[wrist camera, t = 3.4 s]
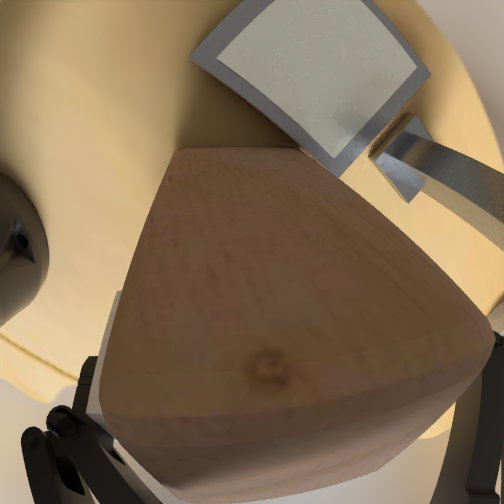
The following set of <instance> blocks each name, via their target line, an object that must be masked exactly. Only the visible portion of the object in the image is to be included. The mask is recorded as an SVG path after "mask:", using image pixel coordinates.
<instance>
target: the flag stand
mask: <svg viewBox="0 0 504 504" xmlns="http://www.w3.org/2000/svg"><path fill="white" fill-rule="evenodd" d="M487 319H488V320H489V322H490V324H491V327H492V330H493V331H496V332H498V333H499V334H500V335H501V336H504V301H503V302H502V303H500V304H499V305H498V306H497V307H496V308H495V309H494V310H493V311H492V312H491V314H490V315H489V316H488V317H487Z"/></svg>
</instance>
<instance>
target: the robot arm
mask: <svg viewBox="0 0 504 504" xmlns="http://www.w3.org/2000/svg"><path fill="white" fill-rule="evenodd" d="M48 265H49V254H48V246H47V241H46V237H45V233H44V230H43V227H42V224H41V222H40V220H39V217H38V215H37V213H36V211H35V209H34V208H33V206H32V204H31V203H30V201H29V200H28V198H27V197H26V196H25V194H24V193H23V192H22V191H21V189H20V188H19V187H18V186H17V185H16V184H15V183H14V182H13V181H11V180H10V179H9V178H8V177H6V176H5V175H3V174H1V173H0V327H1V326H2V325H4V324H5V323H6V322H7V321H9V320H10V319H11V318H12V317H14V316H15V315H16V314H17V313H19V312H20V311H21V310H23V309H24V308H25V307H26V306H28V305H29V304H30V303H31V302H32V301H33V300H34V298H35V297H36V295H37V293H38V292H39V290H40V288H41V287H42V285H43V283H44V281H45V279H46V276H47V272H48ZM121 293H122V291H117V293H116V296H115V299H114V302H113V305H112V309H111V312H110V315H109V319H108V322H107V325H106V329H105V333H104V336H103V340H102V344H101V347H100V351H99V355H98V356H89V357H88V358H87V360H86V361H85V363H84V364H83V366H82V369H81V373H80V378H79V380H78V386H77V389H76V393H75V397H74V402H73V407H72V409H71V408H70V407H67V406H65V405H59V406H57V407H54V408H53V409H52V410H51V411H50V412H49V414H48V416H47V420H46V425H47V429H48V430H49V431H45V432H43V431H42V430H40V429H39V428H37V427H29V428H27V429H26V430H25V431H24V433H23V434H22V437H21V446H22V453H23V458H24V463H25V468H26V473H27V477H28V481H29V485H30V489H31V492H32V496H33V499H34V502H35V504H95V502H94V500H93V498H92V495H91V493H90V490H91V492H92V493H93V494H94V496H95V497H96V499H97V500H98V502H99V503H100V504H163V503H162V502H161V501H160V500H159V499H158V498H157V497H156V496H155V495H154V494H153V493H152V492H151V491H150V490H149V488H148V487H147V486H146V485H145V484H144V483H143V482H142V481H141V479H140V478H139V477H138V476H137V475H136V474H135V472H134V471H133V470H132V469H131V468H130V466H129V465H128V464H127V463H126V461H125V460H124V459H123V457H122V456H121V455H120V454H119V452H118V451H117V450H116V448H114V447H113V442H114V439H115V438H114V437H113V436H112V435H111V433H110V432H109V431H108V430H107V427H106V423H105V420H104V417H103V413H102V410H101V406H100V403H99V381H100V376H101V371H102V366H103V362H104V357H105V353H106V349H107V345H108V340H109V336H110V333H111V329H112V325H113V321H114V317H115V314H116V310H117V307H118V303H119V300H120V296H121ZM493 333H494V335H495V338H496V340H495V344H494V347H493V350H492V352H491V355H490V357H489V359H488V361H487V363H486V365H485V366H484V368H483V370H482V371H481V372H480V374H479V375H478V376H477V377H476V379H475V380H474V381H473V382H472V383H471V385H470V386H469V387H468V388H467V389H466V390H465V391H464V393H463V394H462V395H461V396H460V397H459V398H458V399H457V400H456V405H455V412H454V417H453V423H452V428H451V432H450V437H449V442H448V446H447V450H446V454H445V458H444V461H443V465H442V469H441V472H440V476H439V478H438V482H437V485H436V488H435V491H434V494H433V496H432V499H431V502H430V504H499V503H500V497H499V495H498V494H497V493H495V485H496V481H497V476H498V471H499V466H500V460H501V474H502V475H501V480H502V481H501V504H504V336H501V335H500V334H499V333H498V332H496V331H493ZM115 440H116V439H115ZM116 441H117V440H116ZM117 442H118V441H117ZM118 443H119V442H118ZM88 487H89V488H88ZM89 489H90V490H89Z"/></svg>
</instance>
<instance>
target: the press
mask: <svg viewBox="0 0 504 504" xmlns="http://www.w3.org/2000/svg"><path fill="white" fill-rule="evenodd" d="M188 58H189V60H190V61H191V62H193V63H194V64H196V65H197V66H199V67H200V68H201V69H203V70H204V71H206V72H207V73H209V74H210V75H211V76H213V77H214V78H216V79H217V80H218V81H220V82H221V83H222V84H224V85H225V86H227V87H228V88H229V89H231V90H232V91H233V92H235V93H236V94H237V95H239V96H240V97H241V98H242V99H244V100H245V101H246V102H248V103H249V104H250V105H251V106H253V107H254V108H255V109H256V110H258V111H259V112H260V113H261V114H263V115H264V116H265V117H266V118H268V119H269V120H270V121H271V122H272V123H274V124H275V125H276V126H277V127H278V128H279V129H281V130H282V131H283V132H284V133H285V134H286V135H288V136H289V137H290V138H291V139H292V140H293V141H295V142H296V143H297V144H298V145H299V146H300V147H301V148H302V149H303V150H305V151H306V152H307V153H308V154H309V155H310V156H311V157H312V158H313V159H314V160H316V161H317V162H318V163H319V164H320V165H321V166H323V167H324V168H325V169H327V170H328V171H329V172H331V173H332V174H333V175H335V176H336V177H337V178H339V177H340V176H341V175H342V174H343V172H344V171H345V170H346V169H347V168H348V167H349V166H350V165H351V164H352V163H353V161H354V160H355V159H356V158H357V157H358V156H359V155H360V154H361V153H362V152H363V150H364V149H365V148H366V147H367V146H368V145H369V144H370V143H371V142H372V140H373V139H374V138H375V137H376V136H377V135H378V134H379V133H380V132H381V130H382V129H383V128H384V127H385V126H386V125H387V124H388V123H389V121H390V120H391V119H392V118H393V117H394V116H395V115H396V114H397V113H398V111H399V110H400V109H401V108H402V107H403V106H404V105H405V104H406V102H407V101H408V100H409V99H410V98H411V97H412V96H413V94H414V93H415V92H416V91H417V90H418V89H419V88H420V87H421V85H422V84H423V83H424V82H425V81H426V80H427V79H428V77H429V76H430V75H431V74H430V72H429V71H428V69H427V68H426V66H425V65H424V63H423V62H422V60H421V59H420V58H419V56H418V55H417V54H416V52H415V51H414V50H413V48H412V47H411V46H410V44H409V43H408V42H407V40H406V39H405V38H404V37H403V35H402V34H401V33H400V32H399V30H398V29H397V28H396V27H395V26H394V24H393V23H392V22H391V21H390V20H389V19H388V17H387V16H386V15H385V14H384V13H383V12H382V11H381V10H380V9H379V8H378V6H377V5H376V4H375V3H374V2H373V1H372V0H244V1H242V2H241V3H240V4H239V5H238V6H237V7H236V8H235V9H234V10H233V11H232V12H231V13H230V14H229V15H228V16H227V17H226V18H225V19H223V20H222V21H221V22H220V23H219V24H218V26H217V27H216V28H215V29H214V30H213V31H212V32H211V33H210V34H209V35H208V36H207V37H206V38H205V39H204V40H203V41H202V42H201V43H200V45H199V46H198V47H197V48H196V49H195V50H194V51H193V52H192V54H191V55H190V56H189V57H188ZM368 158H369V159H370V160H371V161H372V162H373V164H374V165H375V166H376V167H377V168H378V170H379V171H380V172H381V173H382V174H383V176H384V177H385V178H386V179H387V181H388V182H389V183H390V184H391V186H392V187H393V188H394V189H395V191H396V192H397V193H398V195H399V196H400V197H401V198H402V199H403V200H404V201H406V202H407V203H408V204H409V203H410V201H411V200H412V199H413V198H414V197H415V196H416V195H417V193H418V192H419V191H420V190H421V191H422V192H424V193H426V194H427V195H429V196H430V197H432V198H433V199H435V200H436V201H438V202H439V203H441V204H442V205H443V206H445V207H446V208H448V209H449V210H451V211H452V212H454V213H455V214H456V215H458V216H459V217H460V218H462V219H463V220H465V221H466V222H467V223H469V224H470V225H471V226H473V227H474V228H475V229H476V230H478V231H479V232H480V233H482V234H483V235H484V236H485V237H487V238H488V239H489V240H490V241H492V242H493V243H494V244H495V245H496V246H498V247H499V248H500V249H501V250H502V251H504V174H503V173H501V172H499V171H497V170H495V169H493V168H491V167H489V166H487V165H485V164H483V163H481V162H479V161H477V160H475V159H473V158H471V157H468V156H466V155H464V154H462V153H460V152H457V151H455V150H453V149H450V148H448V147H446V146H443V145H441V144H438V143H436V142H434V141H433V140H432V138H431V136H430V135H429V133H428V132H427V130H426V128H425V127H424V125H423V124H422V122H421V121H420V119H419V118H418V116H417V115H416V114H412V113H408V114H407V115H406V116H405V117H404V118H403V119H402V120H401V122H400V123H399V124H398V125H397V126H396V127H395V128H394V129H393V131H392V132H391V133H390V134H389V135H388V136H387V137H386V138H385V140H384V141H383V142H382V143H381V144H380V145H379V146H378V147H377V149H376V150H375V151H374V152H373V153H372V154H371V155H370V156H369V157H368Z"/></svg>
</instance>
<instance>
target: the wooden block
mask: <svg viewBox="0 0 504 504" xmlns="http://www.w3.org/2000/svg"><path fill="white" fill-rule="evenodd" d="M495 340H496V338H495V335H494V333H493V330H492V327H491V324H490V322H489V320H488V319H487V318H486V317H485V315H484V314H483V313H482V312H481V311H480V310H479V309H478V307H477V306H476V305H475V304H474V303H473V302H472V301H471V300H470V298H469V297H468V296H467V295H466V294H465V293H464V292H463V291H462V290H461V289H460V288H459V286H458V285H457V284H456V283H455V282H454V281H453V280H452V279H451V278H450V277H449V276H448V275H447V274H446V273H445V272H444V271H443V270H442V269H441V268H440V267H439V266H438V265H437V264H436V263H435V262H434V261H433V260H432V259H431V258H430V257H429V256H428V255H427V254H426V253H425V252H424V251H423V250H422V249H421V248H420V247H419V246H418V245H416V244H415V243H414V242H413V241H412V240H411V239H410V238H409V237H408V236H407V235H406V234H405V233H403V232H402V231H401V230H400V229H399V228H398V227H397V226H396V225H394V224H393V223H392V222H391V221H390V220H389V219H388V218H386V217H385V216H384V215H383V214H382V213H381V212H379V211H378V210H377V209H376V208H375V207H374V206H372V205H371V204H370V203H369V202H368V201H366V200H365V199H364V198H363V197H361V196H360V195H359V194H358V193H356V192H355V191H354V190H353V189H351V188H350V187H349V186H348V185H346V184H345V183H344V182H343V181H341V180H340V179H339V178H337V177H336V176H335V175H333V174H332V173H331V172H329V171H328V170H327V169H325V168H324V167H323V166H321V165H320V164H319V163H317V162H316V161H314V160H313V159H312V158H310V157H309V156H308V155H306V154H305V153H303V152H302V151H299V150H297V149H295V148H285V147H205V148H184V149H182V150H179V151H177V152H175V153H174V154H173V157H172V159H171V161H170V163H169V166H168V168H167V170H166V172H165V175H164V177H163V179H162V182H161V184H160V186H159V189H158V191H157V194H156V196H155V199H154V201H153V204H152V206H151V209H150V211H149V214H148V216H147V219H146V222H145V224H144V227H143V230H142V233H141V235H140V238H139V241H138V244H137V246H136V249H135V252H134V255H133V258H132V261H131V264H130V267H129V270H128V273H127V277H126V280H125V283H124V286H123V289H122V293H121V296H120V300H119V303H118V307H117V310H116V314H115V317H114V321H113V325H112V329H111V333H110V336H109V340H108V345H107V349H106V353H105V357H104V362H103V366H102V371H101V376H100V381H99V403H100V406H101V410H102V413H103V417H104V420H105V423H106V427H107V430H108V431H109V432H110V433H111V435H112V436H113V437H114V438H115V439H116V440H117V441H118V442H119V443H120V444H121V446H123V448H124V449H125V450H126V451H127V452H128V453H129V454H130V455H131V456H132V457H133V458H134V459H135V460H136V461H137V462H138V463H139V464H140V465H141V466H142V467H143V468H144V469H145V470H146V471H147V472H149V474H151V475H152V476H153V477H154V478H155V479H156V480H157V481H158V482H159V483H160V484H162V485H163V486H164V487H165V488H166V489H168V490H169V491H170V492H171V493H172V494H173V495H175V496H176V497H177V498H178V499H180V500H183V501H186V502H189V503H192V504H228V503H229V504H230V503H240V502H250V501H258V500H265V499H272V498H278V497H283V496H289V495H294V494H298V493H303V492H307V491H312V490H316V489H320V488H324V487H328V486H332V485H335V484H338V483H342V482H345V481H348V480H351V479H355V478H358V477H361V476H363V475H366V474H369V473H372V472H375V471H377V470H379V469H380V468H381V467H383V466H384V465H385V464H387V463H388V462H389V461H390V460H392V459H393V458H394V457H396V456H397V455H398V454H400V453H401V452H402V451H403V450H404V449H406V448H407V447H408V446H409V445H410V444H412V443H413V442H414V441H415V440H416V439H417V438H418V437H420V436H421V435H422V434H423V433H424V432H425V431H426V430H427V429H428V428H429V427H431V426H432V425H433V424H434V423H435V422H436V421H437V420H438V419H439V418H440V417H441V416H442V415H443V414H444V413H445V412H446V411H447V410H448V409H449V408H450V407H451V406H452V405H453V404H454V402H455V401H456V400H457V399H458V398H459V397H460V396H461V395H462V394H463V393H464V391H465V390H466V389H467V388H468V387H469V386H470V385H471V383H472V382H473V381H474V380H475V379H476V377H477V376H478V375H479V374H480V372H481V371H482V370H483V368H484V366H485V365H486V363H487V361H488V359H489V357H490V355H491V352H492V350H493V347H494V344H495Z"/></svg>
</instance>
